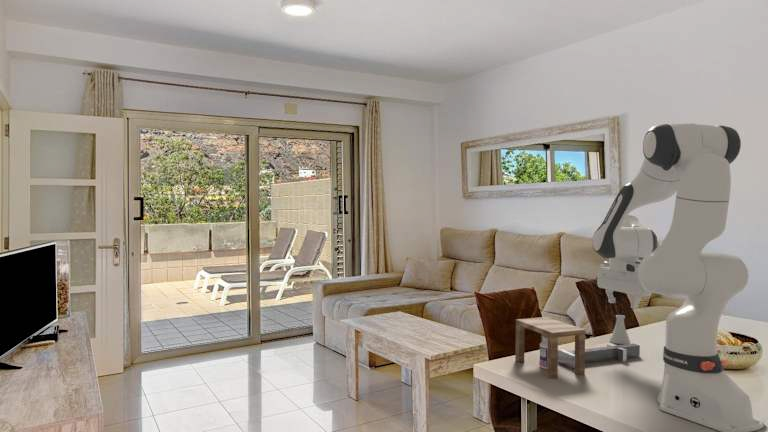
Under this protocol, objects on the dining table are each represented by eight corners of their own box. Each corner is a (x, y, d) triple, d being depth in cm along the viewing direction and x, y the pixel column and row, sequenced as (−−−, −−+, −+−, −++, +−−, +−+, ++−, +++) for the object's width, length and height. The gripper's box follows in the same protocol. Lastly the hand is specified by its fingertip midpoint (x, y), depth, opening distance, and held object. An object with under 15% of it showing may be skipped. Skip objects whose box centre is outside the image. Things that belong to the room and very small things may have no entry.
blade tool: (646, 359, 164) (646, 347, 164) (574, 369, 154) (574, 356, 154) (627, 353, 172) (627, 341, 172) (557, 361, 162) (557, 349, 162)
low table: (584, 374, 149) (585, 329, 149) (551, 378, 145) (552, 332, 145) (545, 357, 166) (546, 316, 166) (515, 360, 162) (515, 319, 162)
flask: (626, 340, 188) (626, 314, 188) (634, 345, 181) (634, 318, 181) (606, 339, 189) (606, 313, 189) (613, 344, 182) (613, 317, 182)
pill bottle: (557, 365, 158) (557, 334, 158) (558, 370, 153) (558, 339, 152) (539, 363, 159) (539, 333, 159) (539, 369, 154) (540, 337, 154)
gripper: (593, 261, 174) (592, 300, 175) (641, 268, 155) (640, 312, 155) (607, 260, 176) (606, 299, 177) (656, 267, 157) (655, 311, 158)
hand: (622, 305), depth 166 cm, fingers open, 8 cm apart
